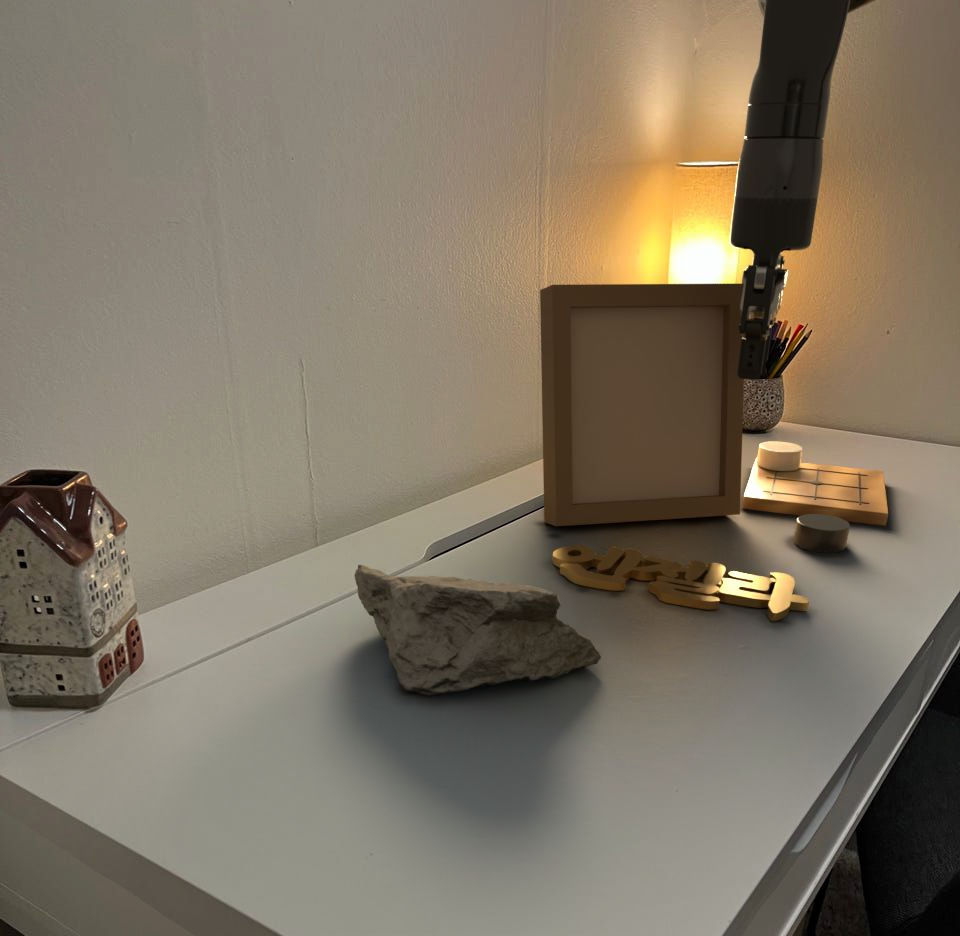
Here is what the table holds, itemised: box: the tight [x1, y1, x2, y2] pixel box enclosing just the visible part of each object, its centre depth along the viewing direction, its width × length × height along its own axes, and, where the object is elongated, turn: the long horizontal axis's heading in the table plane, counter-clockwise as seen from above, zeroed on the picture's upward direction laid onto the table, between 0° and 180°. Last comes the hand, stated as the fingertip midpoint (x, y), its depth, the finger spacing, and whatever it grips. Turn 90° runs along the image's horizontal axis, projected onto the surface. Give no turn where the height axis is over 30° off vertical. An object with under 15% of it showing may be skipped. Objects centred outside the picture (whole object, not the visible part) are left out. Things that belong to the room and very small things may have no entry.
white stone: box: [756, 440, 804, 471], centre depth 124 cm, size 5×5×2 cm
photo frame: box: [539, 283, 745, 527], centre depth 107 cm, size 15×22×25 cm
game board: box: [741, 457, 889, 527], centre depth 118 cm, size 16×18×2 cm
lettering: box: [552, 544, 810, 622], centre depth 92 cm, size 25×10×1 cm, turn 68°
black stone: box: [792, 514, 851, 554], centre depth 102 cm, size 5×5×2 cm
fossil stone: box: [354, 564, 602, 697], centre depth 76 cm, size 20×15×10 cm
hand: (752, 370), depth 96 cm, fingers open, 8 cm apart
